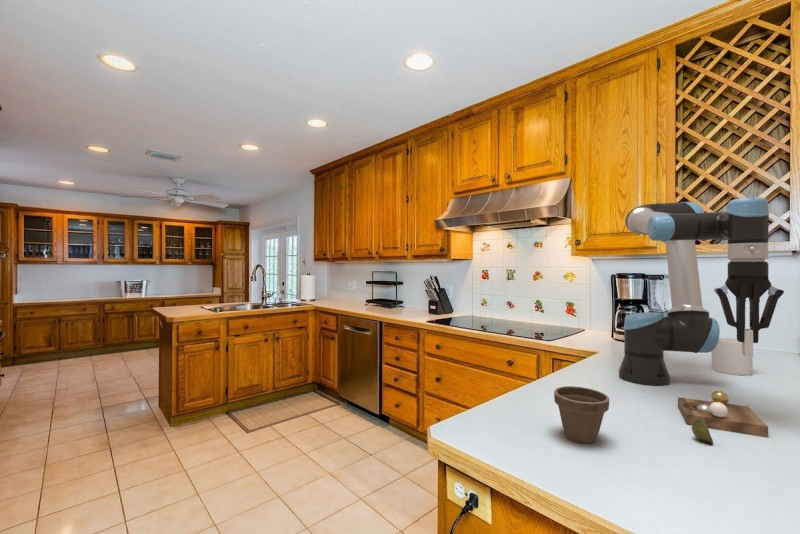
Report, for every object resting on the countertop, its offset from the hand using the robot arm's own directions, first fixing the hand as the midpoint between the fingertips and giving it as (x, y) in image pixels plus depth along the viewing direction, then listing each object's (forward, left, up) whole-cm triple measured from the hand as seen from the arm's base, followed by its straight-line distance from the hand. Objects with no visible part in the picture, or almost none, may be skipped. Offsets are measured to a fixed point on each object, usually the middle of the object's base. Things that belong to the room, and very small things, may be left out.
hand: (747, 355), depth 95 cm
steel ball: (-9, 0, -15) cm, 17 cm away
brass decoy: (-4, +5, -13) cm, 14 cm away
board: (-6, 0, -17) cm, 18 cm away
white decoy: (-7, -6, -13) cm, 16 cm away
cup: (+10, +63, -17) cm, 67 cm away
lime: (-12, -18, -17) cm, 27 cm away
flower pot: (-36, -29, -17) cm, 49 cm away
